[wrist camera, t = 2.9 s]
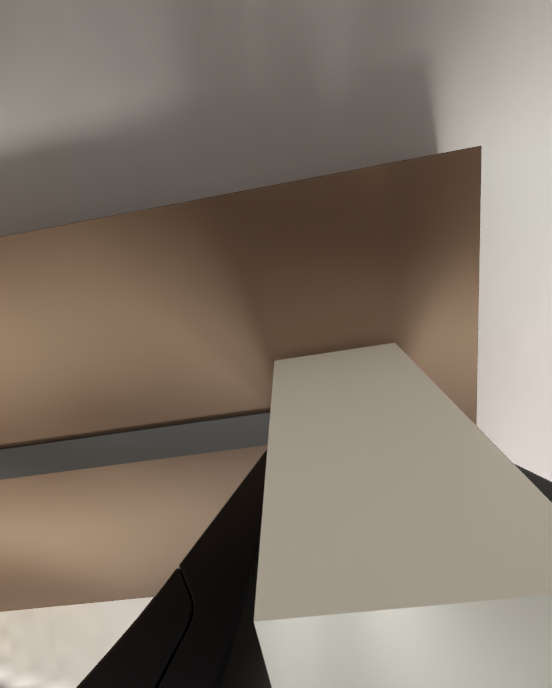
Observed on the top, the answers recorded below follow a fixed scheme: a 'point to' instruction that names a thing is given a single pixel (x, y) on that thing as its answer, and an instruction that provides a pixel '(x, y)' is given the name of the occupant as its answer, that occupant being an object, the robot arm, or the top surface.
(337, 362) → the fader knob
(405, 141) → the top surface
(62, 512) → the fader console
